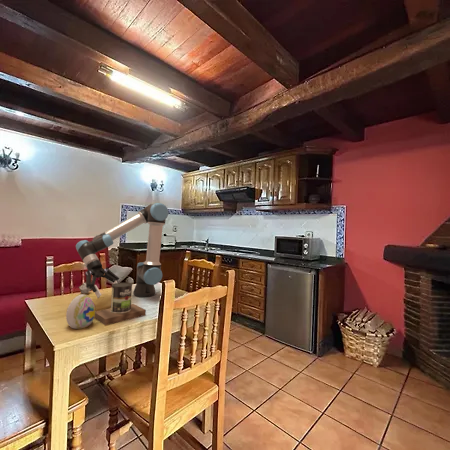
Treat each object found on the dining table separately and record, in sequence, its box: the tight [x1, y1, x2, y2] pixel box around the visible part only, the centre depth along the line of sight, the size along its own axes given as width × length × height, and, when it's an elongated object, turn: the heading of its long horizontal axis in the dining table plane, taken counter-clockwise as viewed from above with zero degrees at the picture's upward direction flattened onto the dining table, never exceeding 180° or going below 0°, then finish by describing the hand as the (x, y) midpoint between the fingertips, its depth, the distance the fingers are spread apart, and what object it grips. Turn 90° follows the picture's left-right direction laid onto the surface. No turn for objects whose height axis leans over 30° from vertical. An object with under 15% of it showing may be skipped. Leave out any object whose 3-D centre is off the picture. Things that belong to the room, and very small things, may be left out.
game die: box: [77, 281, 92, 295], centre depth 179 cm, size 9×8×10 cm
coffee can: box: [110, 282, 133, 314], centre depth 140 cm, size 10×10×14 cm
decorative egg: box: [65, 293, 96, 330], centre depth 125 cm, size 12×12×15 cm
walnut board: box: [94, 303, 147, 326], centre depth 139 cm, size 22×14×3 cm, turn 138°
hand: (110, 293), depth 143 cm, fingers open, 13 cm apart
